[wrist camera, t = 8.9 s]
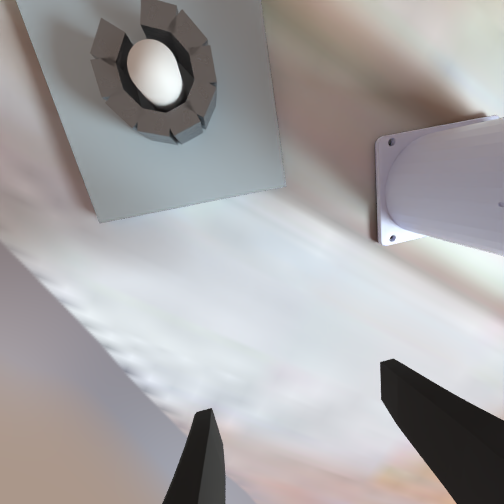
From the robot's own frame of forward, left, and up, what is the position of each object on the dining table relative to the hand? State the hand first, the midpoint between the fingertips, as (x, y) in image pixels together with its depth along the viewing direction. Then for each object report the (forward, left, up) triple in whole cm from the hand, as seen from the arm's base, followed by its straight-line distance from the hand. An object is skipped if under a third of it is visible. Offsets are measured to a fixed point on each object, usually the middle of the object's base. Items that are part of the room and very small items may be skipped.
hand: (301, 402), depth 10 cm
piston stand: (+3, -14, -10) cm, 17 cm away
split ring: (+3, -14, -9) cm, 17 cm away
